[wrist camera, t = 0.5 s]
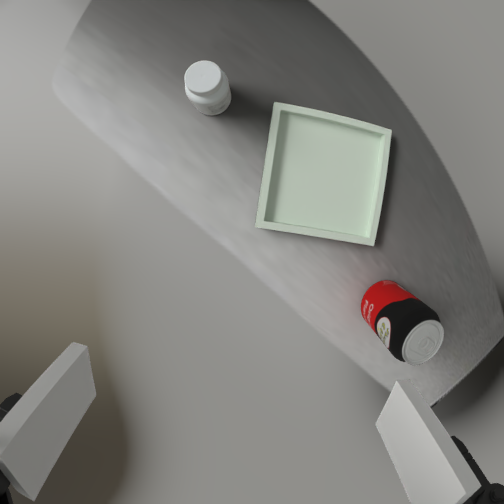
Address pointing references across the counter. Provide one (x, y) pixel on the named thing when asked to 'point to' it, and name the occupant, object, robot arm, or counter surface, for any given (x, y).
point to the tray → (323, 175)
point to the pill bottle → (207, 88)
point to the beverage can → (402, 322)
